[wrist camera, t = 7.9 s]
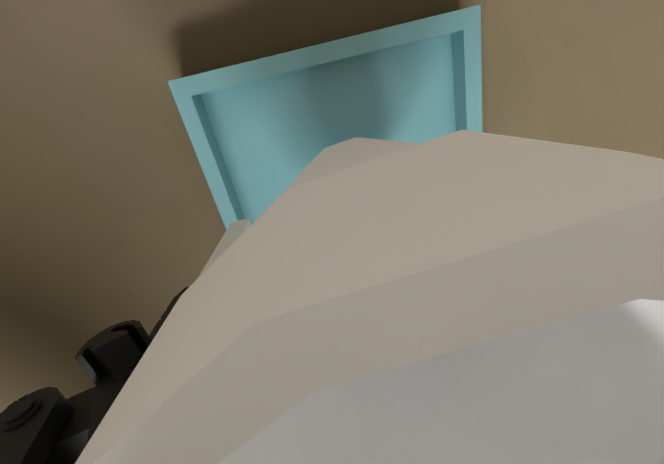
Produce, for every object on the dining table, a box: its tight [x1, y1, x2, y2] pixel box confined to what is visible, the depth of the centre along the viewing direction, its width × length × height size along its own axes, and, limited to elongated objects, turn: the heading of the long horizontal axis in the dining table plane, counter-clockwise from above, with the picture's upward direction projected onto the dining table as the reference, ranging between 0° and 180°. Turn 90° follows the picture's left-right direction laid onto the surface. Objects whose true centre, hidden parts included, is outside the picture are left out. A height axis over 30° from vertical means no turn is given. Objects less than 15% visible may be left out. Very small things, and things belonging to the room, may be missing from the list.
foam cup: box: [75, 130, 664, 464], centre depth 9 cm, size 10×9×13 cm
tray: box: [167, 5, 482, 230], centre depth 18 cm, size 15×15×2 cm
